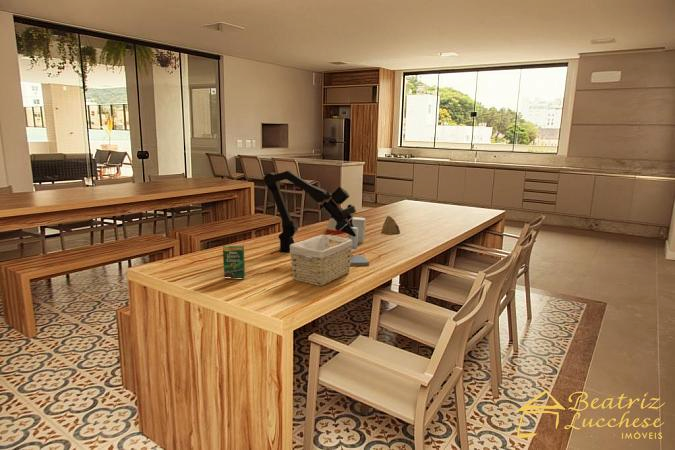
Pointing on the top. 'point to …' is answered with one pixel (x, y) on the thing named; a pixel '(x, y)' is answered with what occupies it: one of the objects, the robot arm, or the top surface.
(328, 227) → the kitchen timer
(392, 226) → the rock
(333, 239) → the storage basket
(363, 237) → the supplement box
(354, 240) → the white dome-topped cylinder
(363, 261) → the shelf board
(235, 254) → the coffee box
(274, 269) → the top surface
